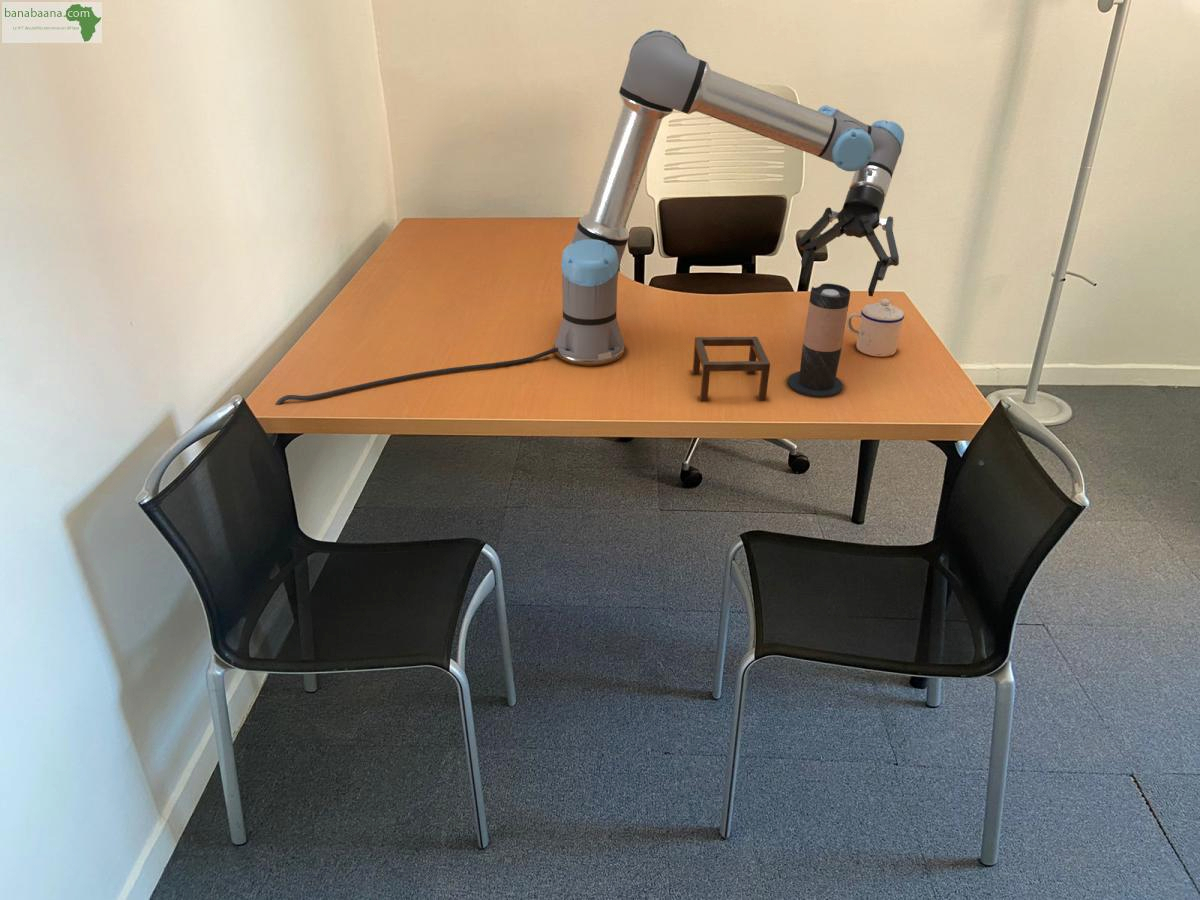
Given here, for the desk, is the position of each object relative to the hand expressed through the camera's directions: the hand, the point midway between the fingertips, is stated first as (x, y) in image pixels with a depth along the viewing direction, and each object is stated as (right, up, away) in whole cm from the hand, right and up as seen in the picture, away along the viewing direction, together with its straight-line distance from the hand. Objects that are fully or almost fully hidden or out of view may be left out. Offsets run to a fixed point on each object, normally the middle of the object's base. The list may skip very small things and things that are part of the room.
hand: (836, 287), depth 174 cm
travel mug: (-3, -19, +5) cm, 20 cm away
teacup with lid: (+13, -10, +21) cm, 27 cm away
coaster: (-3, -19, +5) cm, 20 cm away
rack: (-21, -19, +4) cm, 29 cm away
